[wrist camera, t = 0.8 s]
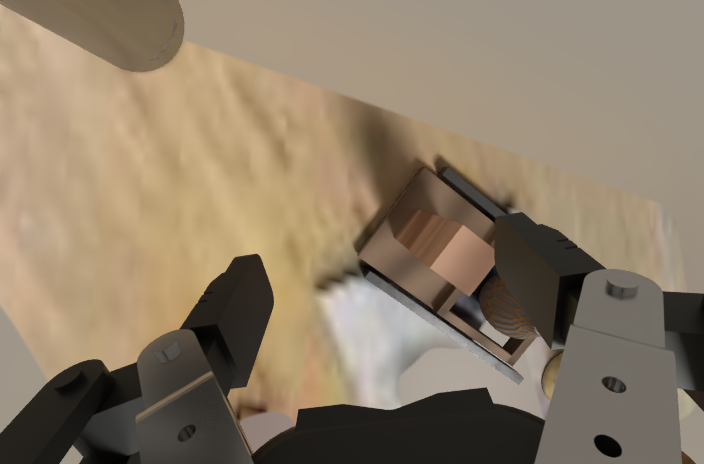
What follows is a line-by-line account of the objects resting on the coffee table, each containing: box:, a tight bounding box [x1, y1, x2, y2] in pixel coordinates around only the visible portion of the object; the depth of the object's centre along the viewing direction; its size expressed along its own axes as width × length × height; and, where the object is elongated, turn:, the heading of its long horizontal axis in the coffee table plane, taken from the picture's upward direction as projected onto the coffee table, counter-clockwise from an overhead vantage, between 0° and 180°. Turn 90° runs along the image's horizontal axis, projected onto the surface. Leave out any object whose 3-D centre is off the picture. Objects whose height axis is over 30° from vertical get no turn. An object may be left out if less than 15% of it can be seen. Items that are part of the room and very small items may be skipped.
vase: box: [479, 274, 542, 339], centre depth 36 cm, size 7×7×9 cm
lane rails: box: [363, 167, 524, 385], centre depth 39 cm, size 24×15×2 cm, turn 53°
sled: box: [357, 167, 536, 366], centre depth 33 cm, size 23×12×13 cm, turn 53°
